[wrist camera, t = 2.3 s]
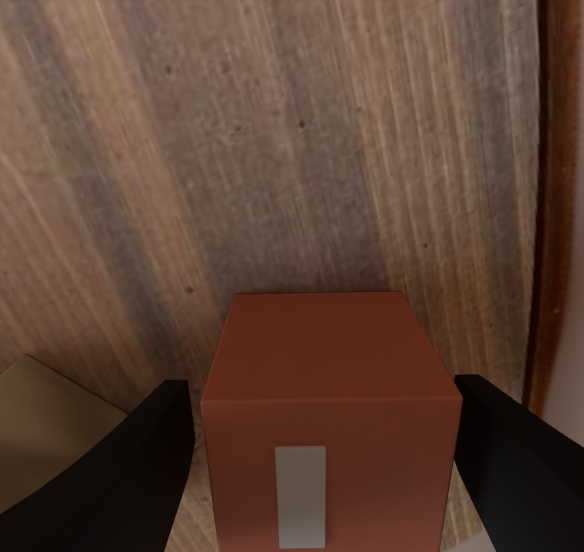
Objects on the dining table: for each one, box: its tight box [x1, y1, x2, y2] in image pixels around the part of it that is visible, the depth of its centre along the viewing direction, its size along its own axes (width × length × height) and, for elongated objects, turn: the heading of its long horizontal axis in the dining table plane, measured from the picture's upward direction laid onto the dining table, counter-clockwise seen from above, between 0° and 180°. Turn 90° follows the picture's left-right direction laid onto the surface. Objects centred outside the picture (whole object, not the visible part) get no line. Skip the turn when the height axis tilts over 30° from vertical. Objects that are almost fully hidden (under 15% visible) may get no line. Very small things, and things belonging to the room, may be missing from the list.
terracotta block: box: [200, 291, 463, 552], centre depth 11 cm, size 5×5×5 cm
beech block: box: [0, 354, 128, 514], centre depth 12 cm, size 5×5×5 cm
